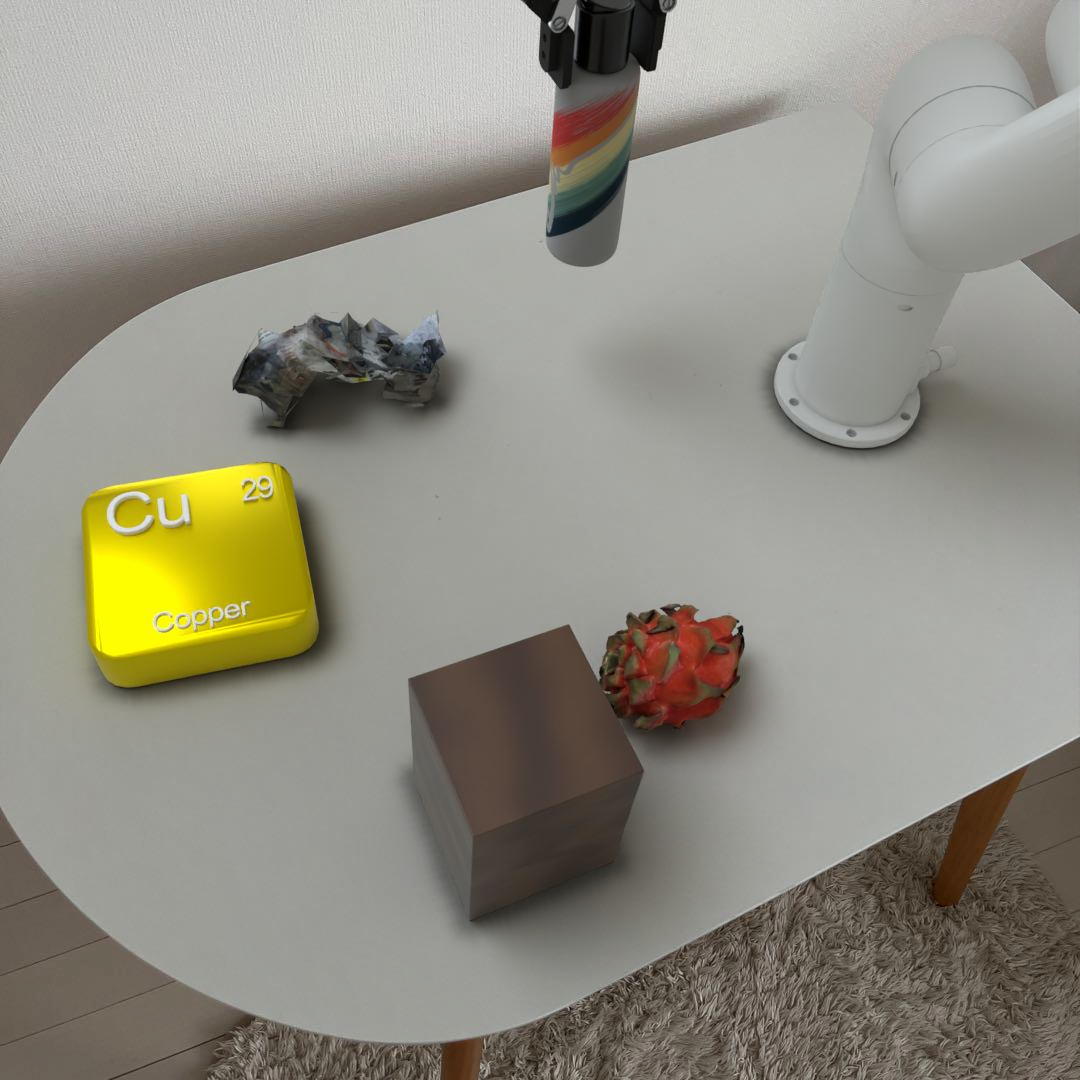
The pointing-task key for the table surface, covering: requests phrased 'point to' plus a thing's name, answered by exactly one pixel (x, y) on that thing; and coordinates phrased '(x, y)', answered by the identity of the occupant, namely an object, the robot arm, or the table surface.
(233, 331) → the table surface
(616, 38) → the lotion bottle
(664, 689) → the dragon fruit
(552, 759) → the block
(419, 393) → the foil
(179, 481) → the element tile
